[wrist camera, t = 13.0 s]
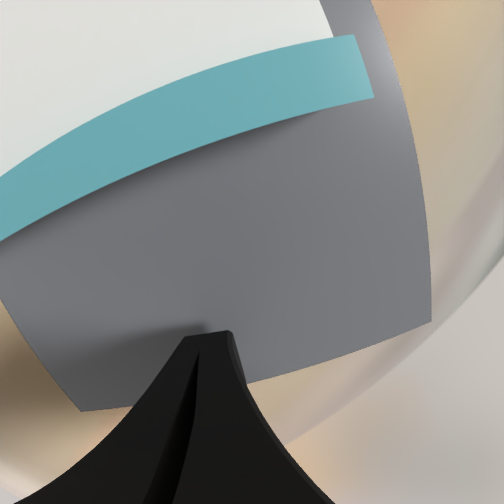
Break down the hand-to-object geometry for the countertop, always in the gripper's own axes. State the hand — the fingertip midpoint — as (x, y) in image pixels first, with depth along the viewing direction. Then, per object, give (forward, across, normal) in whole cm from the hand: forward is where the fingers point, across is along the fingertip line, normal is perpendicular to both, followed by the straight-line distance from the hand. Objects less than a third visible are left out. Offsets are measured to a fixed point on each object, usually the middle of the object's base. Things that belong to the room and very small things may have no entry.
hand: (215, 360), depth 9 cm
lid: (+1, +1, -10) cm, 10 cm away
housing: (+3, +2, -11) cm, 11 cm away
